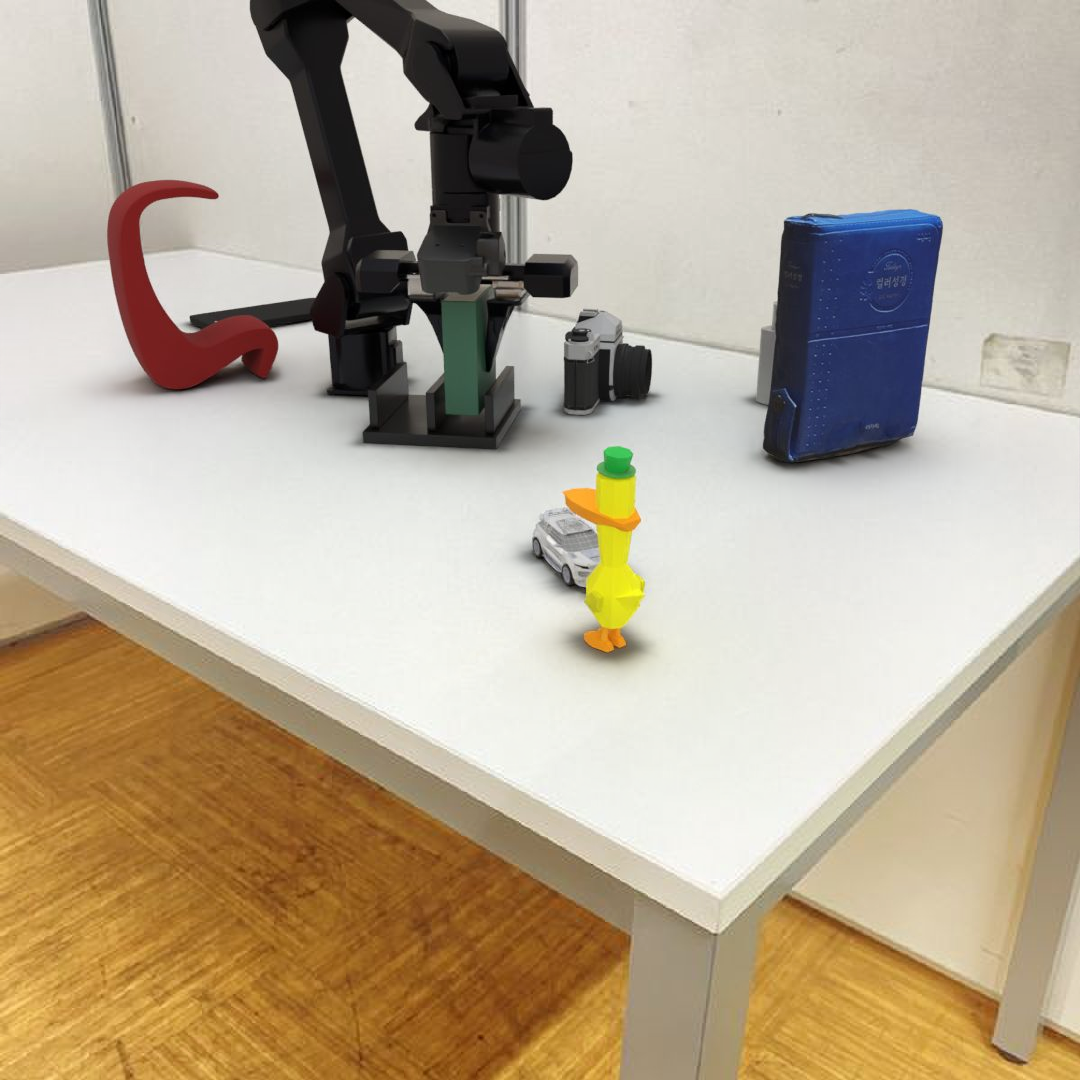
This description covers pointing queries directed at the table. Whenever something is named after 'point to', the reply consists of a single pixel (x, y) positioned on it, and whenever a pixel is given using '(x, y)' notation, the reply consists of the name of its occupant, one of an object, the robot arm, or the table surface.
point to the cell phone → (261, 313)
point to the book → (850, 331)
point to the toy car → (567, 545)
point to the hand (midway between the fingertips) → (470, 370)
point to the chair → (145, 321)
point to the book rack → (437, 413)
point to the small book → (466, 351)
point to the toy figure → (611, 546)
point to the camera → (602, 363)
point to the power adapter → (766, 360)
